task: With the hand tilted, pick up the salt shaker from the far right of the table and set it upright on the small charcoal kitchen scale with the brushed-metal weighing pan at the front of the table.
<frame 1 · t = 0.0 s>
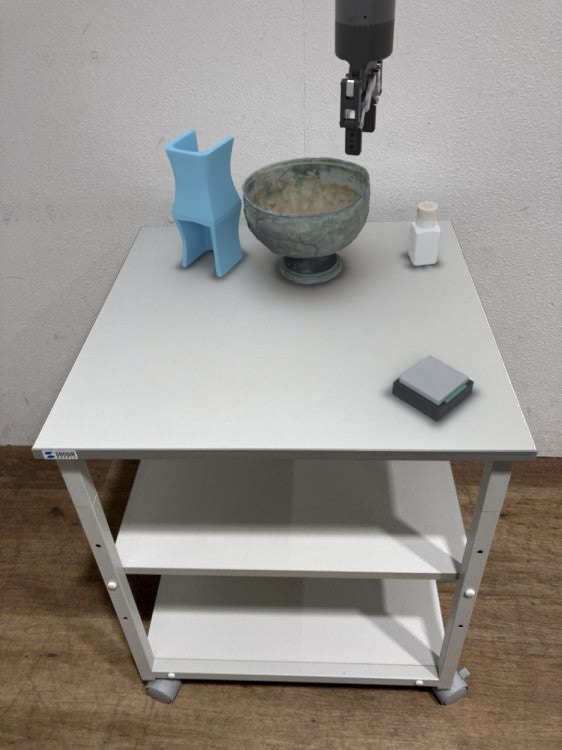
hand: (360, 142, 89), 20 cm above the table, tool pointing down, fingers open, 8 cm apart
salt shaker: (421, 260, 101), on the table
kitchen scale: (431, 393, 78), on the table
bowl: (306, 268, 101), on the table
blue curved channel stand: (214, 261, 105), on the table
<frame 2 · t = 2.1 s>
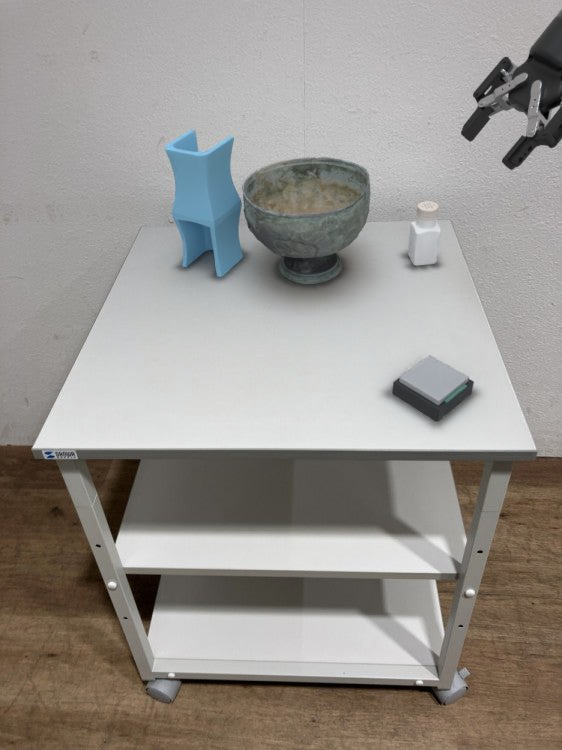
hand: (485, 151, 80), 21 cm above the table, tool tilted 40°, fingers open, 8 cm apart
nothing on the table moved.
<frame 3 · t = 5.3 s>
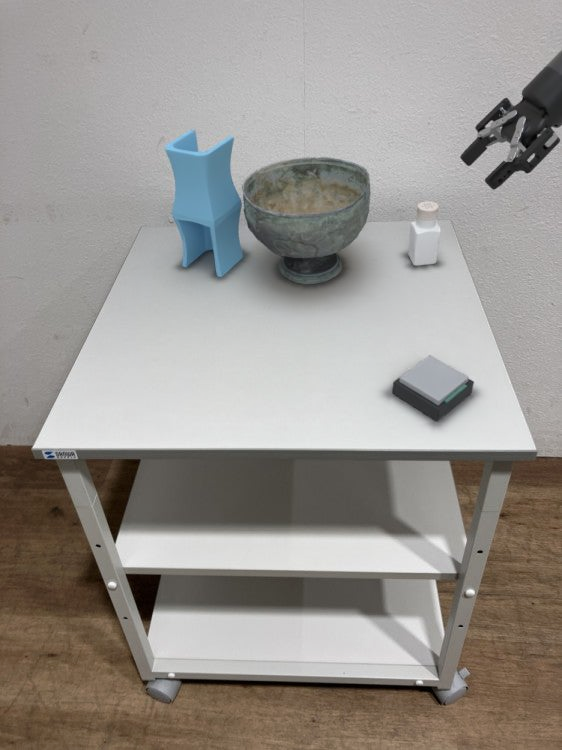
hand: (476, 173, 93), 14 cm above the table, tool tilted 45°, fingers open, 8 cm apart
nothing on the table moved.
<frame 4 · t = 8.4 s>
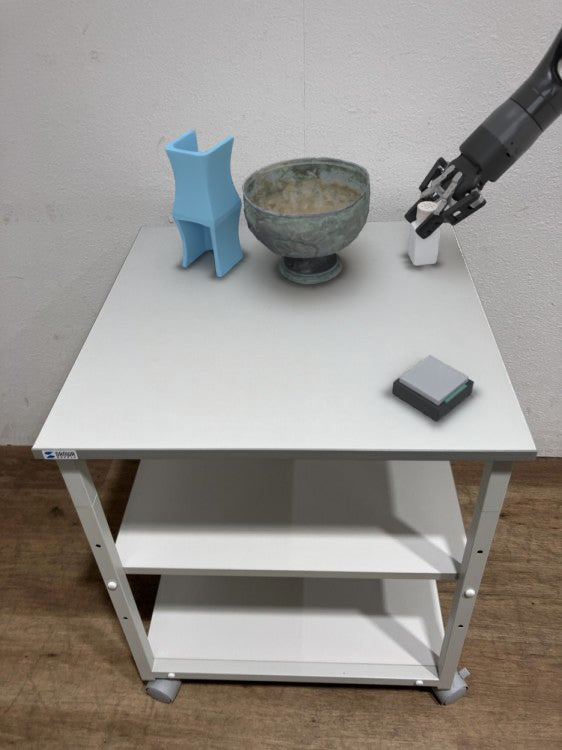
hand: (414, 227, 97), 6 cm above the table, tool tilted 45°, fingers closed on salt shaker, 4 cm apart
salt shaker: (421, 260, 101), on the table, touching gripper
everything else where it was.
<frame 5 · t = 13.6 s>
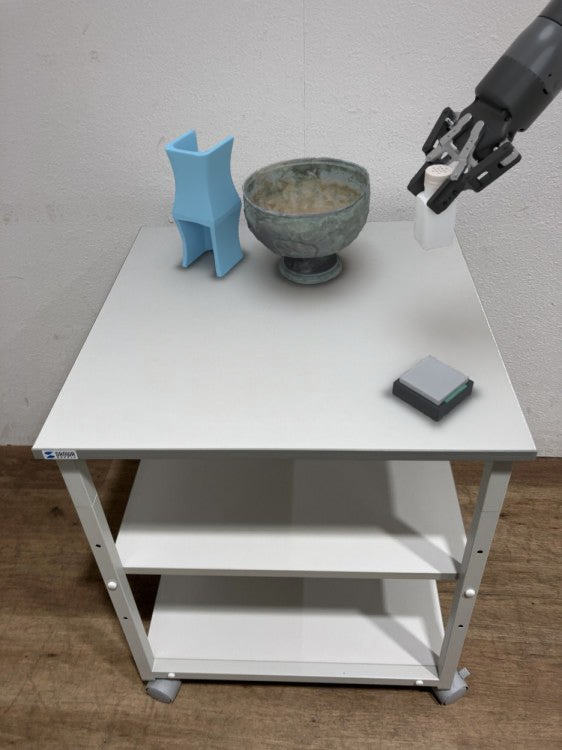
hand: (422, 201, 74), 20 cm above the table, tool tilted 45°, fingers closed on salt shaker, 4 cm apart
salt shaker: (432, 243, 79), point 14 cm above the table, touching gripper
everything else where it was.
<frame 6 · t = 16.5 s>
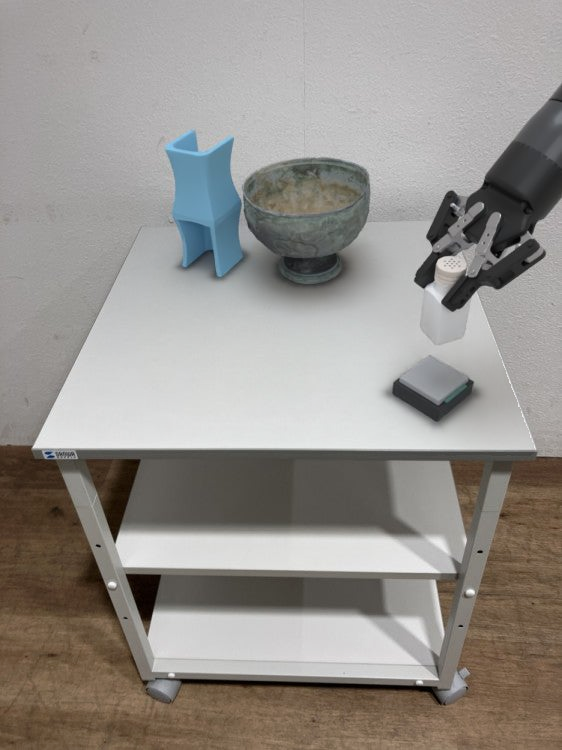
hand: (433, 296, 67), 16 cm above the table, tool tilted 45°, fingers closed on salt shaker, 4 cm apart
salt shaker: (441, 335, 72), point 9 cm above the table, touching gripper
everything else where it was.
when the fingers open (9 cm above the table, at t = 18.8 s): salt shaker stays where it is, resting on kitchen scale.
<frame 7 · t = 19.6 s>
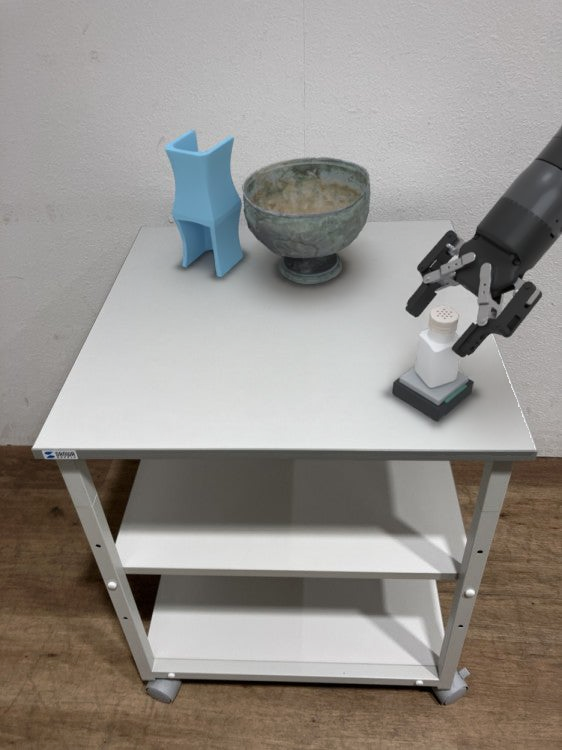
hand: (432, 333, 71), 10 cm above the table, tool tilted 45°, fingers open, 8 cm apart
salt shaker: (434, 377, 76), point 3 cm above the table, touching kitchen scale
everything else where it was.
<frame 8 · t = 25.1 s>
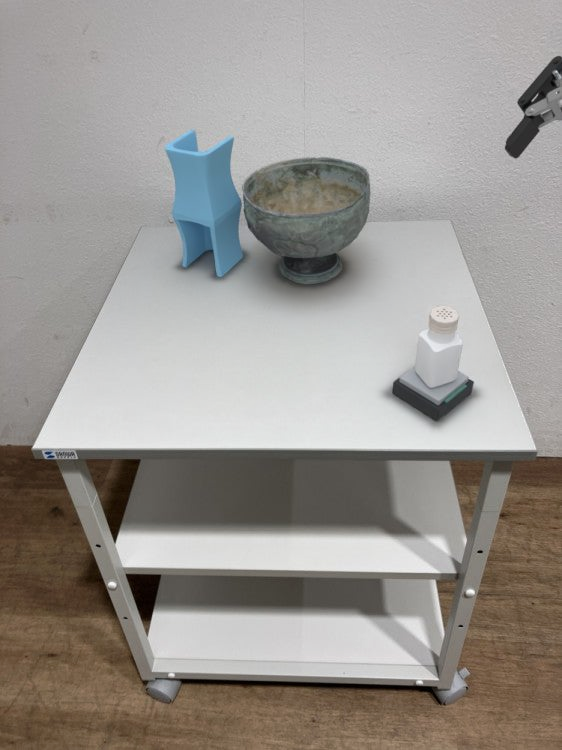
hand: (539, 168, 64), 27 cm above the table, tool tilted 45°, fingers open, 8 cm apart
nothing on the table moved.
at the end: salt shaker 0.1 cm off-centre on the kitchen scale, point 2.6 cm above the kitchen scale's base; salt shaker tilted 0°; the gripper is holding nothing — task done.
